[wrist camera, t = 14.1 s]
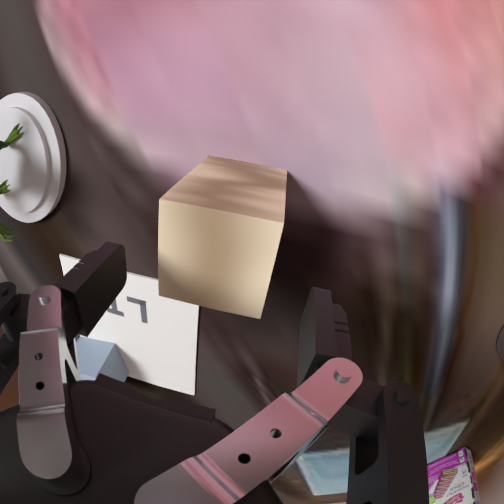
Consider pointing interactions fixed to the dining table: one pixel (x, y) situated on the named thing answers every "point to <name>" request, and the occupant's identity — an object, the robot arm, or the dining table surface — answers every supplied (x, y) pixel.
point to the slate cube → (100, 359)
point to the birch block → (221, 235)
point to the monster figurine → (29, 159)
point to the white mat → (150, 332)
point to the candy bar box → (453, 479)
